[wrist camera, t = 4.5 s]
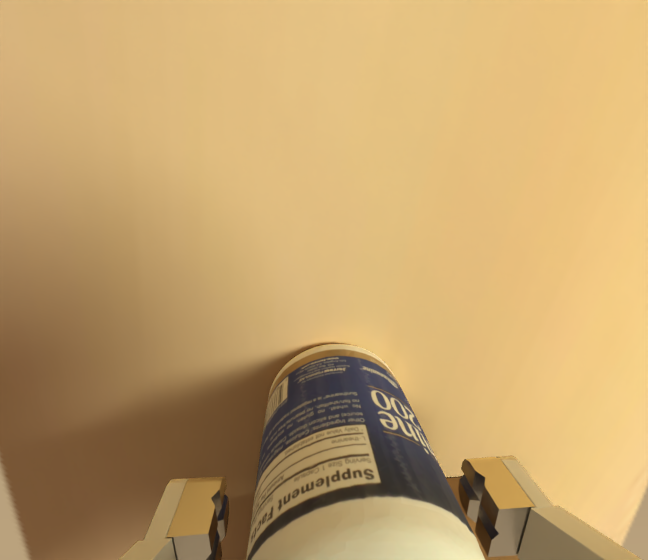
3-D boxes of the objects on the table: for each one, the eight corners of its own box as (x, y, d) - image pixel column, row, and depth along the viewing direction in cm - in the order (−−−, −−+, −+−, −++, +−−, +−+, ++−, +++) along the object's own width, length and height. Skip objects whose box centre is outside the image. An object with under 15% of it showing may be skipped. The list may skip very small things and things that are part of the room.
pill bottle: (414, 416, 14) (644, 887, 5) (303, 464, 14) (317, 990, 5) (368, 316, 12) (586, 747, 3) (243, 372, 13) (98, 916, 3)
